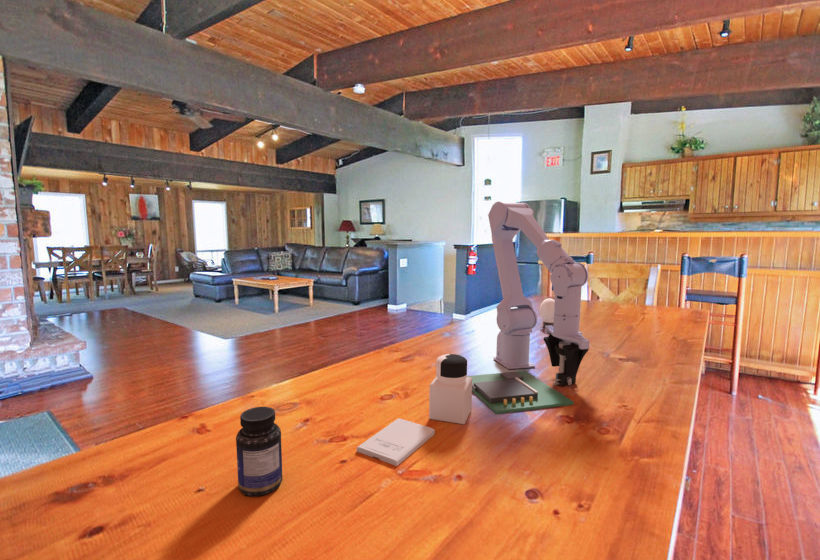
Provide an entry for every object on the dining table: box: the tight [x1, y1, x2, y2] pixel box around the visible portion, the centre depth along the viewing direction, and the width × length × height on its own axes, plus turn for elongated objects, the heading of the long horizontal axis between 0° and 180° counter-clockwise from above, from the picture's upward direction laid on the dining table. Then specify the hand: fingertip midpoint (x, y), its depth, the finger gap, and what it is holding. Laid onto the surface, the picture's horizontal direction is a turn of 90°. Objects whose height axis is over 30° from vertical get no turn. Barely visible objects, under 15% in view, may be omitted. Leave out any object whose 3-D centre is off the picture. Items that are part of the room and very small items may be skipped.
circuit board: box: [467, 370, 575, 415], centre depth 98 cm, size 20×18×2 cm
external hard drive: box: [356, 418, 436, 467], centre depth 75 cm, size 2×8×12 cm
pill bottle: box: [235, 406, 283, 497], centre depth 61 cm, size 6×6×11 cm
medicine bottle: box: [428, 353, 473, 425], centre depth 85 cm, size 7×7×12 cm
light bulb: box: [539, 297, 555, 329], centre depth 158 cm, size 7×7×11 cm
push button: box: [552, 341, 577, 387], centre depth 102 cm, size 7×5×10 cm
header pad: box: [474, 377, 538, 404], centre depth 95 cm, size 9×11×2 cm
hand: (563, 370), depth 102 cm, fingers open, 6 cm apart
